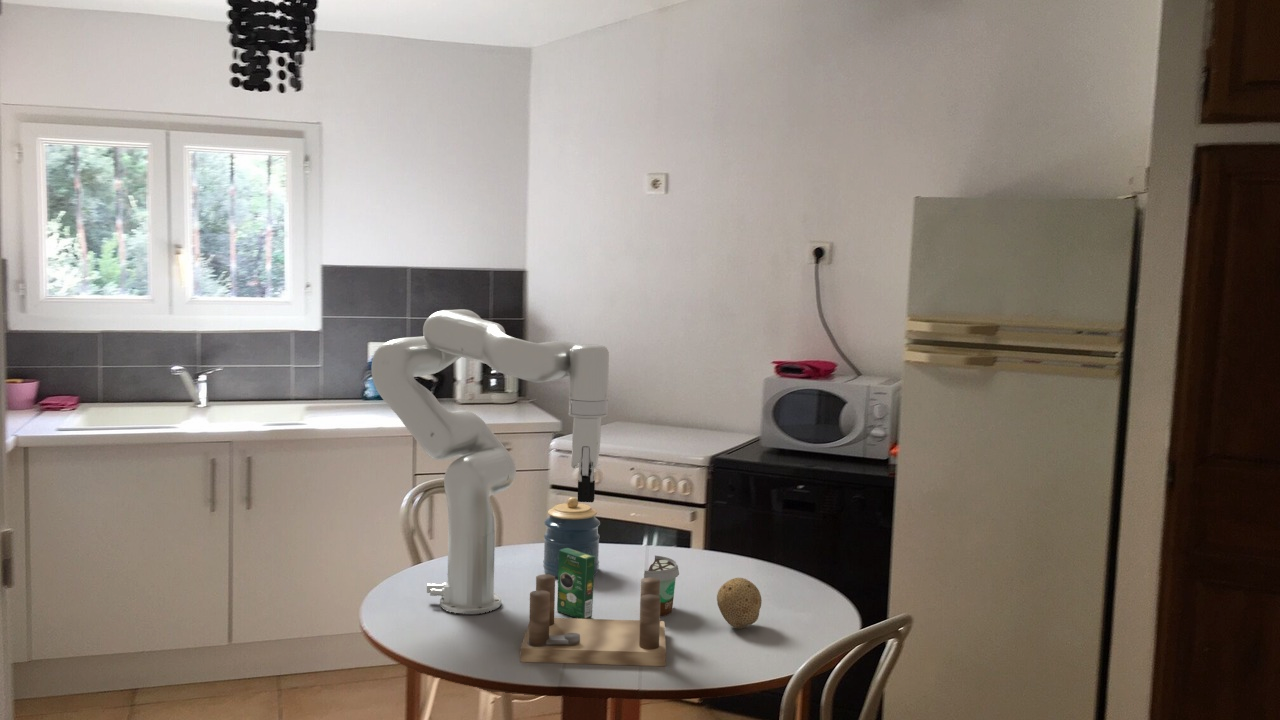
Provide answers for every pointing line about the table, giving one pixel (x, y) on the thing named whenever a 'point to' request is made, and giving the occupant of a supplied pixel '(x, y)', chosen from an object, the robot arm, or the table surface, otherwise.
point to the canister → (570, 533)
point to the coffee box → (575, 583)
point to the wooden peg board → (604, 634)
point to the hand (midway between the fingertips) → (585, 501)
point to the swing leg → (545, 622)
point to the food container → (664, 581)
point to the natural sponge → (739, 602)
